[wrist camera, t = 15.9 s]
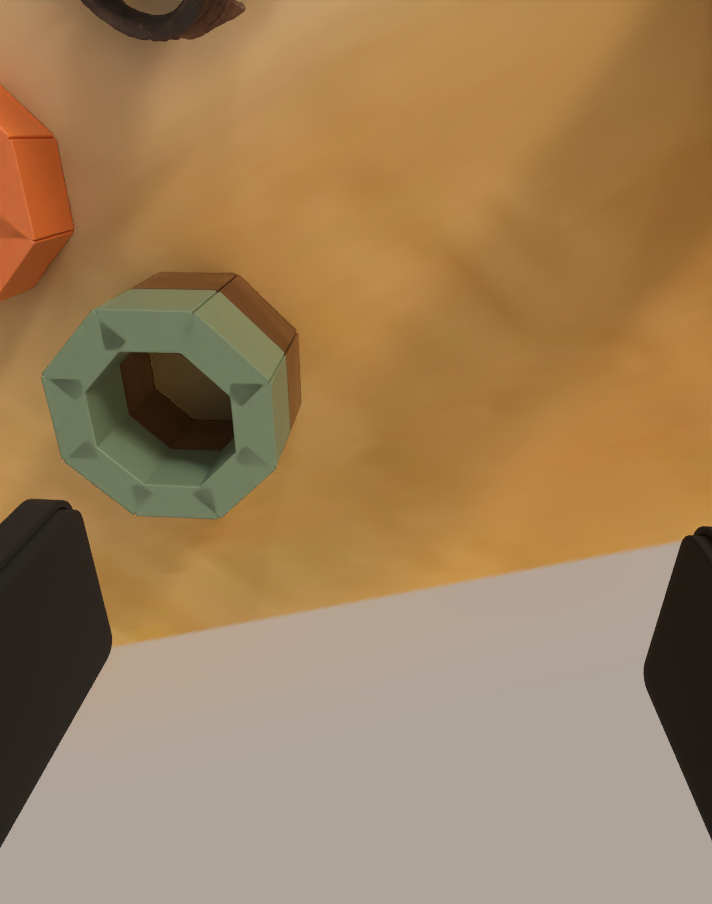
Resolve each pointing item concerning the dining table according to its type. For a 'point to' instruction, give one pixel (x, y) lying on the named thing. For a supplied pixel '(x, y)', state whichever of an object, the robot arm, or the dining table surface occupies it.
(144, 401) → the ring bottom
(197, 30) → the brown knot
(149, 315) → the ring middle
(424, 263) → the dining table surface
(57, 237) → the ring top
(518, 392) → the dining table surface
